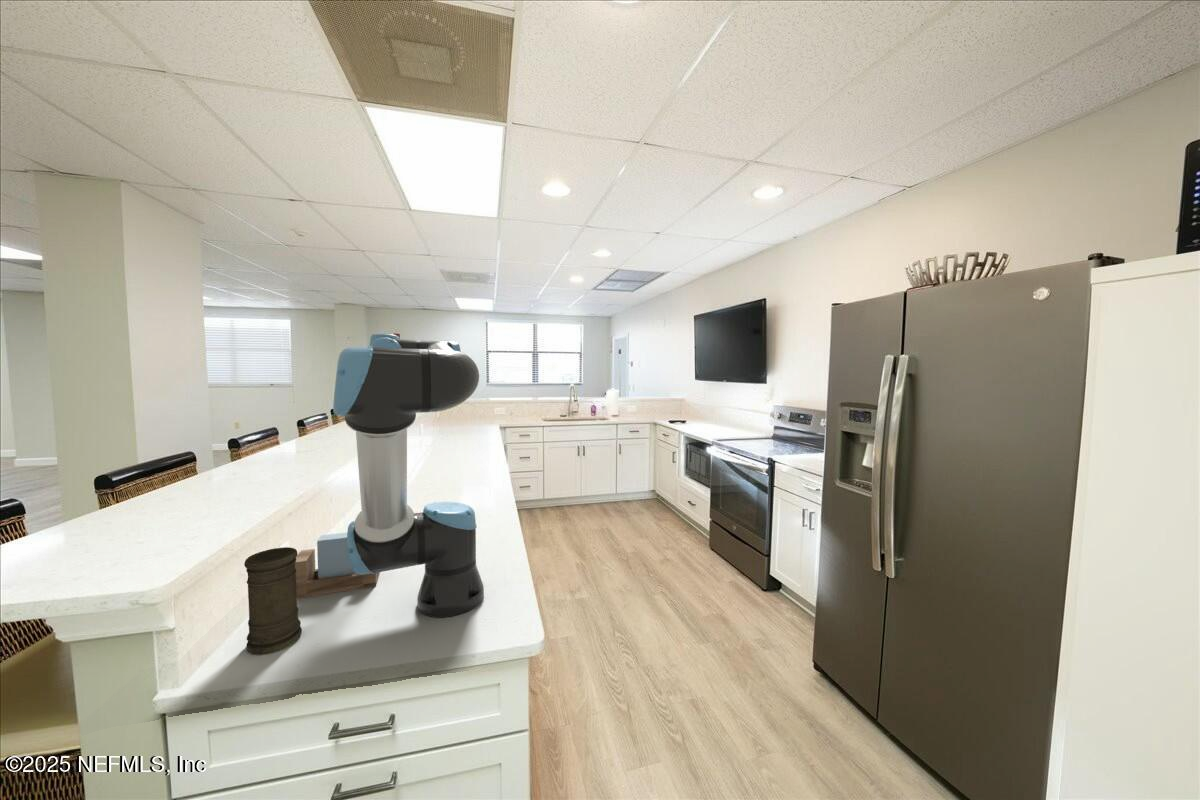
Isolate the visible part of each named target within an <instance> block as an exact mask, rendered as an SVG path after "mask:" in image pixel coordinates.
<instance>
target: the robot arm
mask: <svg viewBox="0 0 1200 800" xmlns="http://www.w3.org/2000/svg"><path fill="white" fill-rule="evenodd" d="M369 338H370V339H369V345H367V346H364V347H363V346H362V347H360V346H359V347H358V346H357V347H355V346H354V347H346V348H344V349H343V350H341V352H340V353H339V355H338V360H337V367H336V374H335V382H334V390H333V391H334V393H333V394H334V395H333V406H332V409H333V414H335V415H336V416H340V417H343V416H344V420H345V423H346V426H347V427H348V428H350V429H351V430H352V431H355V438H356V439H355V440H356V451H357V465H358V480H359V490H360V491H359V493H360V494H359V495H360V505H361V511H360V512H359V513H358V514H357V516H356V517H355V520H354V521H351V522H350V523H349V524H348V527H347V532H346V533H347V546H348V552H349V554H348V555H349V560H350V564H351V567H352V569H353V571H354V572H355V573H357V574H360V575H363V574H371V573H372V574H375V573H378V572H380V573H382V572H387V571H394V570H397V569H398V570H399V569H404V568H408V567H414V566H415V567H416V566H420V565H424V575H423V577H422V580H421V584H420V587H419V590H418V594H417V599H416V600H417V605H416V606H417V609H418V611H419V612H420V613H422V614H423V615H425V616H429V617H435V618H444V617H445V618H446V617H453V616H458V615H461V614H464V613H467V612H469V611H471V610H473V609H475V608H476V607H477V606H478V605H479V604H480V603H481V602H482V601H483V599H484V596H485V593H484V592H485V589H484V588H485V587H484V586H485V585H484V583H483V581H482V578H481V575H480V572H479V569H478V566H477V545H476V544H477V541H476V540H477V539H476V537H477V534H476V532H477V530H476V529H477V528H478V527H477V522H476V513H475V510H474V508H472V507H471V506H470V505H468V504H465V503H462V502H455V501H436V502H432V503H431V502H430V503H427V504H426V505H425V506H424V508H423V510H422V512H414V511H413V509H412V507H411V506H410V505H408V480H407V479H408V466H407V465H408V429H409V428H410V427H411V426H412V425H413V424H414V423H415V420H416V417H417V414H418V413H419V414H420V413H421V414H422V413H438V412H442V411H445V410H450V409H452V408H455V407H458V406H459V405H461V404H462V403H464V402H465V401H467V400H468V399H469V398H470V397H471V396H472V395H473V394H474V393H475V391H476V389H477V387H478V385H479V381H480V373H479V368H478V366H477V363H476V362H475V360H473V359H472V358H471V357H470V356H469V355H467V354H465V352H462V351H461V347H460V344H459V343H458V342H457V341H456V342H455V341H449V340H419V339H418V340H417V339H401V338H400V337H399V335H397V334H392V333H391V334H389V333H374V334H373V333H372V335H370V337H369Z"/></svg>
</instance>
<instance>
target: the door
mask: <svg viewBox="0 0 1200 800" xmlns="http://www.w3.org/2000/svg"><path fill="white" fill-rule="evenodd" d="M316 542H317V543H316V547H317V550H316V551H317V569H318V579H323V578H330V577H337V576H344V575H351V574H357V573H355V572H354V571H353V569H352V567H351V564H350V560H349V555H348V554H349V552H348V546H347V532H340V533H332V534H322V535H320V537H319V538H318V539H317V541H316Z"/></svg>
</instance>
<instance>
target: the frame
mask: <svg viewBox="0 0 1200 800" xmlns="http://www.w3.org/2000/svg"><path fill="white" fill-rule="evenodd" d="M295 569H296V594H297V599H301V598H302V599H303V598H308V597H314V596H322V595H326V594H327V595H328V594H334V593H340V592H346V591H352V590H360V589H367V588H372V587H376V586H377V584H378V581H379V577H380V573H381V572H378V573H375V574H372V573H371V574H363V575H360V574H351V575H344V576H337V577H330V578H323V579H318V568H316V549H315V548H311V549H301V550H300V551H299V553H298V554H297V556H296V563H295Z"/></svg>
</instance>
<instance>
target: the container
mask: <svg viewBox="0 0 1200 800" xmlns="http://www.w3.org/2000/svg"><path fill="white" fill-rule="evenodd" d="M298 554H299V553H298V550H297V549H296V548H294V547H291V546H290V547H286V546H284V547H277V548H270V549H267V550H263V551H259V552H256V553H254V554H252V555H250V556H248V557H247V558H246V559H245V561H244V564H243V566H244V567H245V569H246V573H247V580H246V584H247V598H248V622H247V625H248V634H247V637H246V641H247V642H246V645H245V646H246V650H247V652H248V653H249V654H251V655H257V656H258V655H259V656H262V655H268V654H274V653H277V652H280V651H282V650H285V649H286V648H288V647H291V646H292V645H293V644H296V643H297V641H298V640H299V639H300V638H301V636H302V633H303V631H302V626H301V620H300V619H299V607H298V602H297V601H298V598H297V594H296V569H295V563H296V556H297V555H298Z"/></svg>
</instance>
